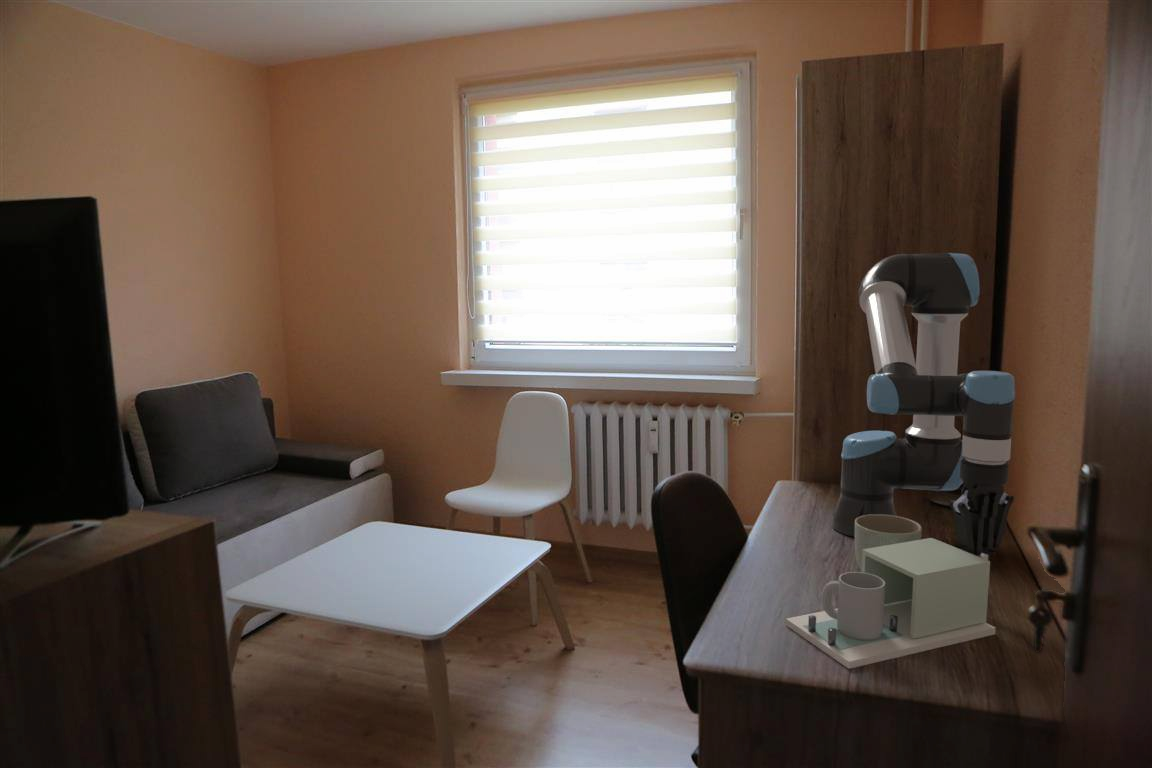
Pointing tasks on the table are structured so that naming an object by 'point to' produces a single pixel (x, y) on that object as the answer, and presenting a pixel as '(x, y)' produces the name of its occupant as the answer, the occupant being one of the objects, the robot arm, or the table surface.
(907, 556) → the hood
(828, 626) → the board
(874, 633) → the cup
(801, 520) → the table surface
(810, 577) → the table surface
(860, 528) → the planter
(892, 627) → the pins
